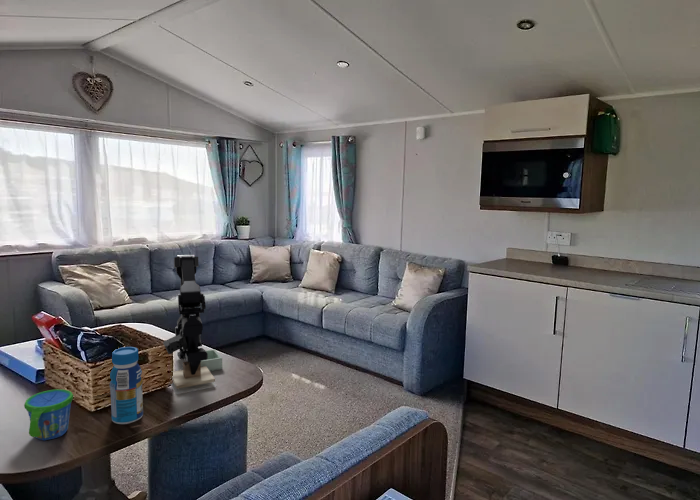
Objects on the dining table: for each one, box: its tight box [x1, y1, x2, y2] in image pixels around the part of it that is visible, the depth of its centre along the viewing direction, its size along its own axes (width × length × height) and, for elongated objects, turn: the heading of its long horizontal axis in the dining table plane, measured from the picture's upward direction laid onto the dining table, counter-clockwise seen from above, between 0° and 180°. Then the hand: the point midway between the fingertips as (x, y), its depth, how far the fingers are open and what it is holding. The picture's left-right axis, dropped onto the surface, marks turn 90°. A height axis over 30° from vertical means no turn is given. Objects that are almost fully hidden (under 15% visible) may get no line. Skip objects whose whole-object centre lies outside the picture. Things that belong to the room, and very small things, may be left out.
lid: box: [172, 361, 216, 389], centre depth 157 cm, size 12×12×6 cm
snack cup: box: [23, 388, 74, 441], centre depth 124 cm, size 16×10×10 cm
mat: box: [170, 382, 218, 395], centre depth 158 cm, size 13×13×1 cm
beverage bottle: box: [109, 346, 144, 425], centre depth 133 cm, size 8×8×20 cm
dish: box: [201, 349, 223, 372], centre depth 171 cm, size 10×10×4 cm
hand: (192, 372), depth 157 cm, fingers closed on lid, 3 cm apart
